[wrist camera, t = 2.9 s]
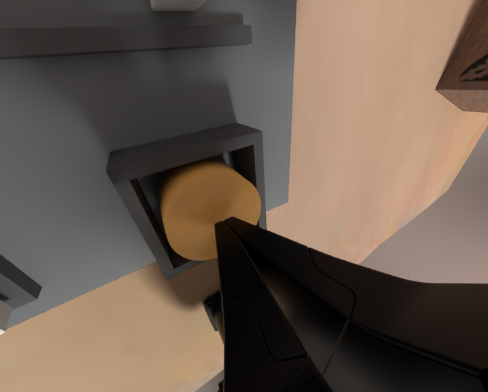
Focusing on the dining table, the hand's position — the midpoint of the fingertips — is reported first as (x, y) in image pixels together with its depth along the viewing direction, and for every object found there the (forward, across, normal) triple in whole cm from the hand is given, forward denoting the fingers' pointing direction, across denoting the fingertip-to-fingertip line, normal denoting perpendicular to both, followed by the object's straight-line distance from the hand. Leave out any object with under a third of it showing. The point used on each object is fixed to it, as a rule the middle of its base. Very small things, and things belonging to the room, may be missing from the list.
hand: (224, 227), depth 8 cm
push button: (+3, 0, 0) cm, 3 cm away
